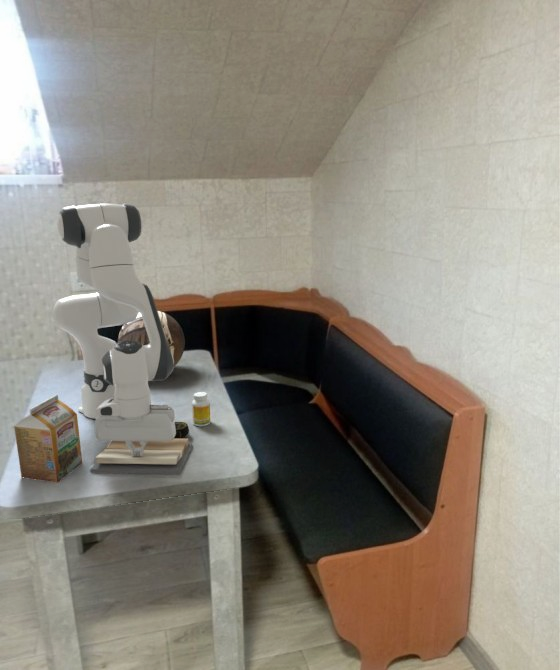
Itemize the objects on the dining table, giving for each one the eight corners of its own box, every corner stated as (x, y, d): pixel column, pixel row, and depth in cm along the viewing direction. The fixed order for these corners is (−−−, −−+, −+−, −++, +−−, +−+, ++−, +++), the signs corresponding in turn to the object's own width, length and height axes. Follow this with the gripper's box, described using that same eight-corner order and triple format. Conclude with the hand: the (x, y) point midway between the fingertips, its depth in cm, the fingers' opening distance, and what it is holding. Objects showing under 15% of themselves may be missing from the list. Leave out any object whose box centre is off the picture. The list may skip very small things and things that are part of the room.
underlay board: (112, 445, 163) (111, 442, 163) (192, 446, 161) (192, 443, 161) (90, 472, 148) (90, 469, 147) (179, 474, 146) (179, 470, 146)
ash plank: (105, 454, 155) (105, 449, 155) (182, 455, 154) (182, 450, 153) (95, 463, 148) (95, 457, 148) (176, 464, 147) (175, 458, 147)
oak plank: (115, 442, 162) (114, 437, 162) (188, 443, 161) (188, 438, 161) (106, 453, 156) (105, 448, 155) (182, 454, 154) (182, 449, 154)
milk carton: (57, 482, 143) (48, 411, 138) (21, 477, 146) (11, 407, 141) (82, 463, 153) (74, 396, 148) (48, 458, 156) (39, 392, 151)
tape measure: (170, 431, 172) (169, 420, 171) (192, 433, 170) (191, 421, 170) (161, 441, 165) (161, 429, 164) (184, 443, 164) (183, 431, 163)
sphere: (189, 381, 215) (185, 315, 209) (119, 387, 210) (113, 320, 203) (184, 361, 239) (180, 302, 232) (121, 367, 233) (116, 306, 227)
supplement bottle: (190, 422, 178) (188, 392, 176) (207, 418, 180) (205, 389, 178) (196, 428, 173) (194, 398, 171) (213, 424, 176) (211, 395, 173)
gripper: (176, 400, 148) (180, 450, 151) (99, 400, 150) (104, 450, 153) (170, 409, 142) (174, 461, 145) (89, 409, 143) (95, 460, 147)
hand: (138, 455), depth 149 cm, fingers closed, pressing on ash plank
